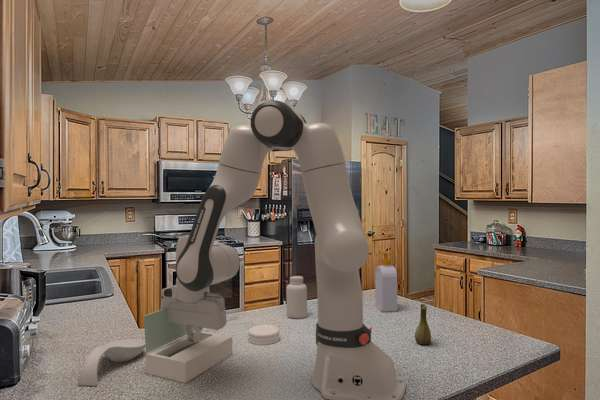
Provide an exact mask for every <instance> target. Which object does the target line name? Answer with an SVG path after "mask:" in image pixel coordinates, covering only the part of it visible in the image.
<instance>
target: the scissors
mask: <svg viewBox="0 0 600 400" xmlns="http://www.w3.org/2000/svg"><path fill="white" fill-rule="evenodd" d="M238 319H239V317H238V316H231V317H229V318H228V320H227V319H226V321H228V322H230V321H235V320H238ZM210 330H211V329H207V330H205V331H204V332H209V331H210ZM217 331H218V330H214V333H217Z"/></svg>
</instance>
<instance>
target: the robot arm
mask: <svg viewBox="0 0 600 400" xmlns="http://www.w3.org/2000/svg"><path fill="white" fill-rule="evenodd" d="M288 151H293V152H294V153H295V155H296V157H297V159H298V163H299V167H300V172H301V177H302V182H303V188H304V192H305V195H306V201H307V204H308V208H309V212H310V215H311V219H312V223H313V227H314V231H315V238H314V255H315V256H314V257H315V259H314V260H315V276H316V277H315V278H316V289H317V292H316V293H317V294H316V295H317V322H316V324H315V344H316V356H315V363H314V368H313V372H312V376H311V382H310V383H311V384H312V386H313V387H314V388H315V389H317V390H318V391H319V392H320V394H321V396H322V397H323V399H326V400H402V399H403V397H404V396H405V394H406V381H405V380H404V378H403V377H402V376H400V375H397V374H396V373H397V372H396V368H395V364H394V361H393V359H392V358H391V356H389V354H387V353H386V352H385V351H383V350H382V349H381V348H380V347H379V346H378V345H376V344H375V343H374V342H373V341H372V332H373V331H372V329H373V327H372V326H370V327H369V328H368V327H367V326H366V324H364V321H363V319H364V316H363V315H364V314H363V313H364V311H363V310H364V308H363V307H364V306H363V305H364V304H363V303H364V301H363V297H364V295H363V289H362V283H361V278H360V277H361V276H360V269H361V268H362V267H363V266H364V265H365V264H366V262H367V261H368V258H369V254H370V247H369V243H368V239H367V237H366V233H365V230H364V228H363V224H362V221H361V217H360V214H359V211H358V208H357V206H356V203H355V199H354V196H353V193H352V188H351V183H350V178H349V173H348V169H347V164H346V160H345V156H344V152H343V149H342V146H341V143H340V141H339V137H338V134H337V133H336V131H335V128H334V127H333V126H331V125H330V124H328V123H325V122H314V123H307V121H306V119H305V117H304V116H303V115H302V114H301V113H299V112H298V111H297V109H295V108H294V107H292V106H291V105H289V104H287V103H285V102H283V101H281V100H273V99H272V100H266V101H262V102H261V103H260V104H258V105H256V107H255V108H254V110H253V112H252V113H251V117H250V125H249V124H238V125H235V126H233V127H232V128H231V129H230V131H229V132H228V134H227V137H226V139H225V141H224V145H223V147H222V150H221V153H220V158H219V161H218V166H217V170H216V173H215V174H214V177H213V180H212V182H211V184H210V185H209V187H208V188H207V190H206V191H204V194H203V196H202V197H201V201H200V203H199V206H198V208H197V212H196V214H195V218H194V221H193V223H192V226H191V229H190V232H188V233H183V234H181V235H180V236H179V238H178V239H177V243H176V249H175V276H176V279H175V284H173V285H171V286H168V287H165V288H162V289H161V297H162V299H161V300H160V301H161V302H160V310H161V309H164V308H167V311H168V322H171V323H177V324H183V329H184V331H185V333H186V335H187V341H192V342H198V341H199V334H200V333H201V331H202V332H203V329H207V330H208V329H210V330H213V331H215V330H217V331H219V330H222V329H223V328H225V326H226V325H227V323H228V322H227V314H226V313H227V312H226V311H227V310H226V304H225V303H226V300H225V298H224V297H223V296H222V295H221V294H220V293H214V292H210V286H213V285H216V284H219V283H222V282H224V281H227V280H230V279H232V278H233V277H235V276H236V275H237V274H238V272H239V271H240V267H241V259H240V255H239V253H238V251H237V250H236V248H235V247H234V246H231V245H228V244H224V243H222V242H219V241H217V240H216V238H217V235H218V231H219V229H220V226H221V223H222V221H223V220H224V218H225V217H226V215H227V214H228V213H229V212H230V211H233V209H235V208H236V207H238V206H239V205H242V204H244V203H245V202H247V201H249V200H250V199H251V198H252V197H253V196H254V195H255V193H256V191H257V189H258V187H259V182H260V179H261V175H262V171H263V166H264V161H265V159H266V156H267V155H268V154H269V153H270V152H274V153H275V152H288ZM192 326H194V330H196V331H194V332H195V333H193V331H192V329H191V327H192ZM186 335H185V336H186Z"/></svg>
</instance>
